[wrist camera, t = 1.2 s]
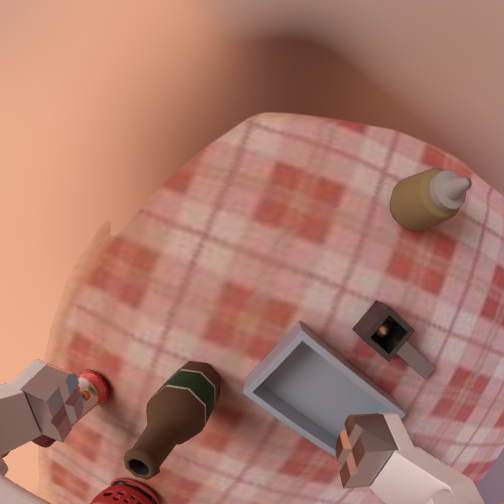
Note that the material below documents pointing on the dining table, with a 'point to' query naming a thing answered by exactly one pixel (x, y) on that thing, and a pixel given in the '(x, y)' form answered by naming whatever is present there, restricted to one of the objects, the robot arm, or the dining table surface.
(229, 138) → the dining table surface
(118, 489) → the plant pot
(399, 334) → the square brown scoop
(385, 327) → the ball stud
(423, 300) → the dining table surface
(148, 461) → the beer bottle
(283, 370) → the bin
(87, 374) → the liquor
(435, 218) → the squeeze bottle
